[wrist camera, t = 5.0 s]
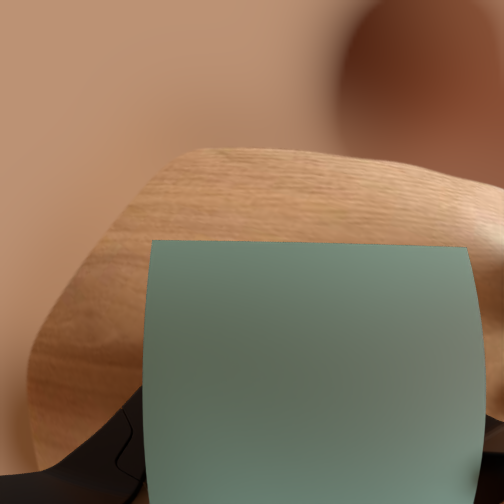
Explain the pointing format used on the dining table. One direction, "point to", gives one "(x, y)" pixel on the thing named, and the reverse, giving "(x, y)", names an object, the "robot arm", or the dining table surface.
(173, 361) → the green-topped wooden block
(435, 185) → the dining table surface
